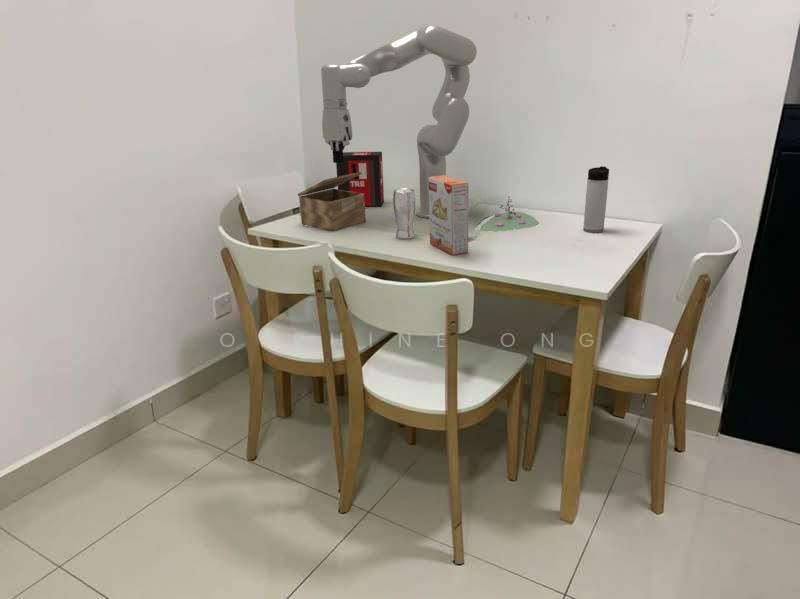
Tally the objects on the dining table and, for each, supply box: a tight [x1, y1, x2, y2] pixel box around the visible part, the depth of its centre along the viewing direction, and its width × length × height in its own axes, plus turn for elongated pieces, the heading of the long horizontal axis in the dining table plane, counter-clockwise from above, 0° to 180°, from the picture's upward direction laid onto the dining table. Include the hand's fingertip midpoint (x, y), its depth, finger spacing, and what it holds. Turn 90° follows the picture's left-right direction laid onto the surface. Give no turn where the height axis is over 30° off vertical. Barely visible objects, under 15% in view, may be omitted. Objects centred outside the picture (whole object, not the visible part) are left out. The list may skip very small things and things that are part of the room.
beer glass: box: [392, 187, 416, 240], centre depth 194 cm, size 7×7×15 cm
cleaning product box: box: [335, 151, 385, 208], centre depth 236 cm, size 16×9×20 cm, turn 84°
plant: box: [480, 195, 539, 233], centre depth 206 cm, size 25×21×9 cm
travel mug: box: [583, 165, 610, 234], centre depth 192 cm, size 6×7×20 cm
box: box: [298, 188, 367, 233], centre depth 213 cm, size 16×16×10 cm
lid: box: [297, 172, 361, 197], centre depth 210 cm, size 16×16×1 cm
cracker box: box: [428, 174, 469, 256], centre depth 179 cm, size 14×6×21 cm, turn 25°
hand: (338, 162), depth 204 cm, fingers closed
